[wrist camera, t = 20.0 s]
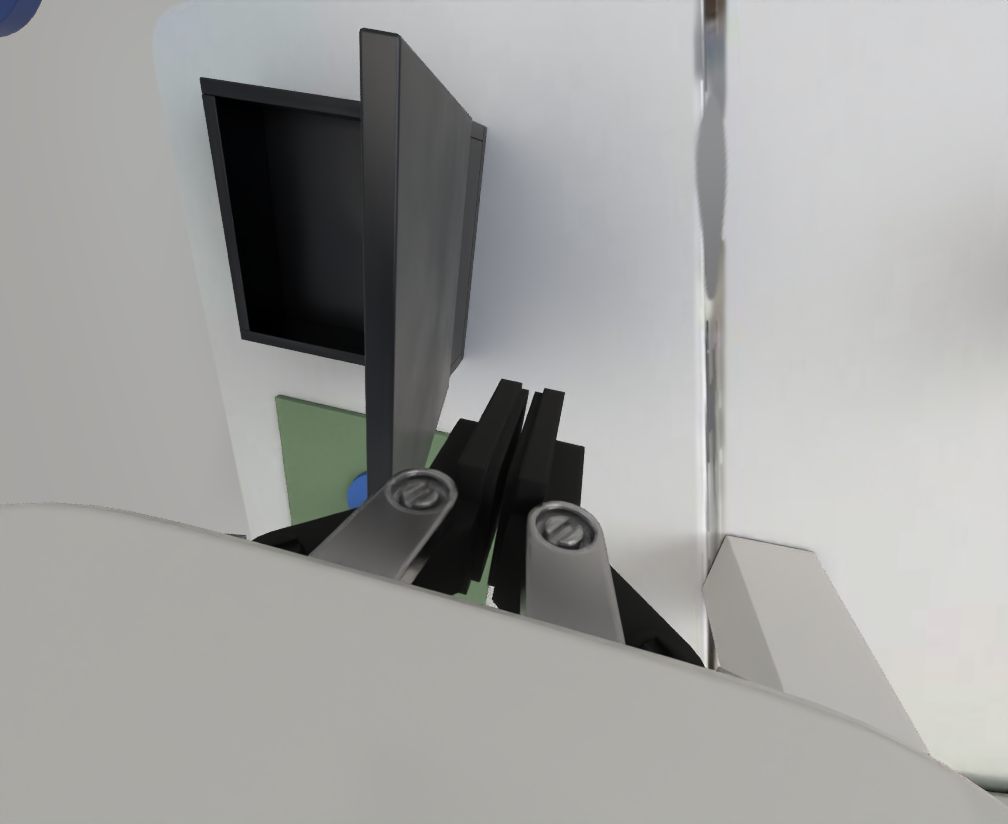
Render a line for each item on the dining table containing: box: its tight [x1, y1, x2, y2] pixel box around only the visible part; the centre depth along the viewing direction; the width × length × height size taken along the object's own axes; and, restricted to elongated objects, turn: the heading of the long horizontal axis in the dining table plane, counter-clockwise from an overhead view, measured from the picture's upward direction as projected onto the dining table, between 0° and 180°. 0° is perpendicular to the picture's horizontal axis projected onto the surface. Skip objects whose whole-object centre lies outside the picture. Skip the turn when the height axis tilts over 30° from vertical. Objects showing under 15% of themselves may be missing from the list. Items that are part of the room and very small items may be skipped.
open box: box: [200, 77, 487, 376], centre depth 30 cm, size 16×16×5 cm
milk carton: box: [702, 536, 930, 755], centre depth 31 cm, size 7×7×19 cm
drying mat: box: [275, 395, 497, 605], centre depth 44 cm, size 22×22×1 cm
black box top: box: [359, 28, 472, 498], centre depth 19 cm, size 16×16×1 cm
